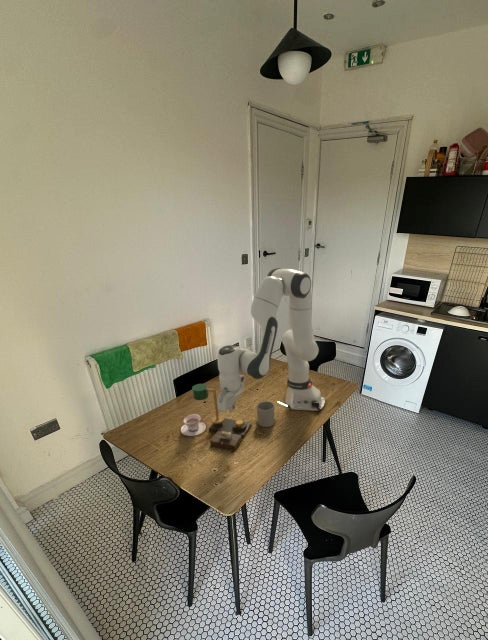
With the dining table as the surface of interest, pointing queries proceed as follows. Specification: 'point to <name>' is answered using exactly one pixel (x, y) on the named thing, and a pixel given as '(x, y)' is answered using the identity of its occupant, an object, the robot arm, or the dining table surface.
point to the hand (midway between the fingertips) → (232, 409)
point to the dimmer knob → (225, 435)
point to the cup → (265, 414)
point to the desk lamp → (202, 393)
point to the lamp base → (231, 427)
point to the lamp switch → (239, 423)
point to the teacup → (192, 425)
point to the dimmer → (226, 441)
